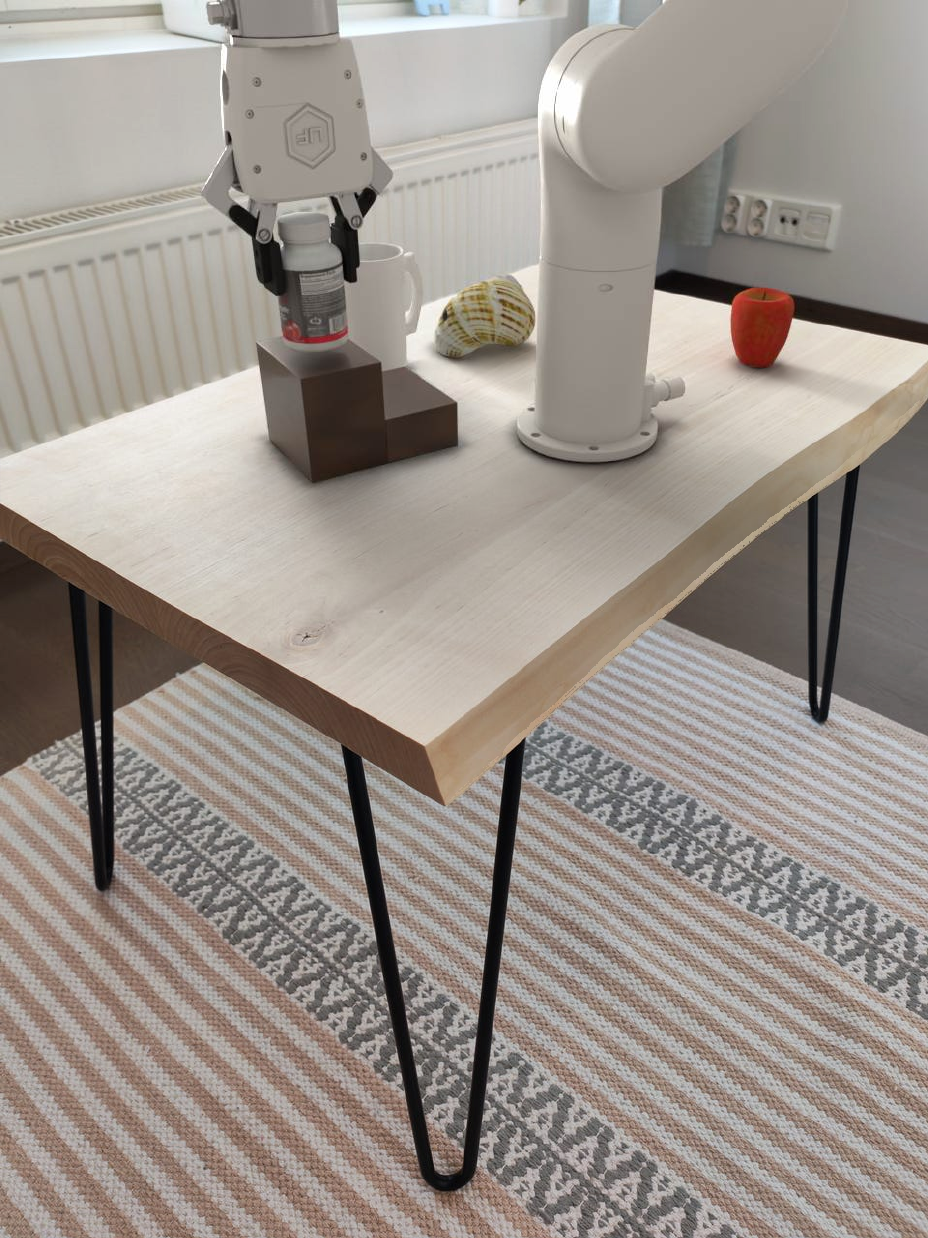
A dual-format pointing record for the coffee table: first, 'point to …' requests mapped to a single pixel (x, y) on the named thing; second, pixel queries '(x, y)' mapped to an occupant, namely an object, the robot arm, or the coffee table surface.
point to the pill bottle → (311, 284)
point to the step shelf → (349, 409)
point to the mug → (383, 303)
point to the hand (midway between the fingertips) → (310, 282)
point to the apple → (760, 325)
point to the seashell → (485, 317)
